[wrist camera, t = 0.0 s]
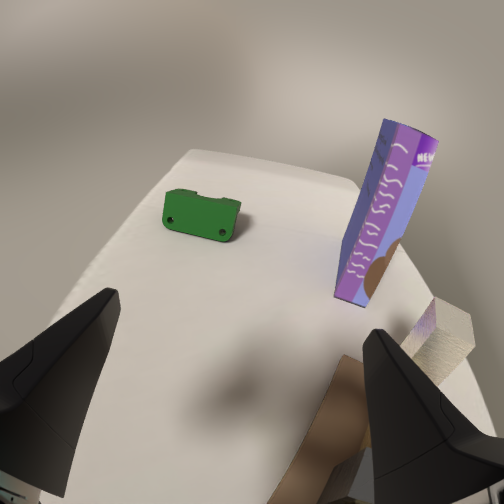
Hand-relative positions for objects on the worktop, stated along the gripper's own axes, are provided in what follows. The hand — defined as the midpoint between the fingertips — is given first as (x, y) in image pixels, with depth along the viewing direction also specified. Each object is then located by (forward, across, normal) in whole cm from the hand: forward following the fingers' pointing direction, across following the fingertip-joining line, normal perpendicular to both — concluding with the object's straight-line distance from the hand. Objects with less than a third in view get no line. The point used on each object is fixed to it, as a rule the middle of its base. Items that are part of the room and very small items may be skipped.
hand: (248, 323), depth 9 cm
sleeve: (-4, -11, +16) cm, 20 cm away
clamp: (+35, +6, +17) cm, 39 cm away
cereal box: (+30, -19, +17) cm, 39 cm away
